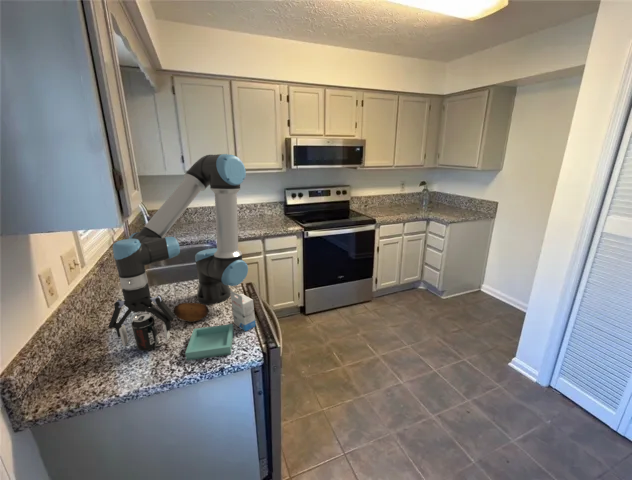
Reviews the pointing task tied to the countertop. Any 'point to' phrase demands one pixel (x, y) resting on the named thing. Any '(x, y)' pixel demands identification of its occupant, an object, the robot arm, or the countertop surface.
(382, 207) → the countertop surface
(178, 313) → the potato
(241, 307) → the ink box
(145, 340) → the beverage can
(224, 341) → the collection tray
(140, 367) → the countertop surface
